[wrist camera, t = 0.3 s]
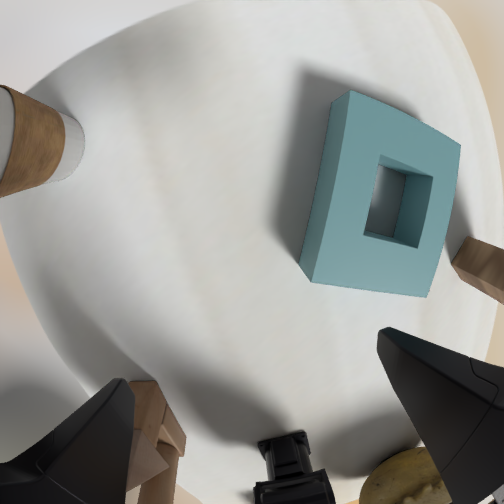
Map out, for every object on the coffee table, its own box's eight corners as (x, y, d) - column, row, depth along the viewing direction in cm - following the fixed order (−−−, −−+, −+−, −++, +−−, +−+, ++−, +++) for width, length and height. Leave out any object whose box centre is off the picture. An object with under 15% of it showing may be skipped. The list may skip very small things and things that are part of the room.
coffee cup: (73, 209, 20) (-61, 256, 5) (21, 173, 18) (-95, 190, 4) (113, 122, 18) (-21, 76, 4) (54, 94, 17) (-59, 60, 2)
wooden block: (156, 379, 25) (116, 530, 8) (187, 436, 28) (176, 555, 11) (127, 380, 25) (76, 517, 8) (161, 436, 28) (142, 550, 11)
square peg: (461, 279, 25) (518, 314, 15) (450, 263, 24) (513, 297, 14) (477, 253, 24) (535, 280, 14) (467, 236, 23) (531, 261, 14)
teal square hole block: (403, 282, 24) (426, 297, 20) (298, 264, 23) (311, 282, 19) (434, 146, 20) (460, 144, 16) (331, 102, 19) (350, 89, 15)
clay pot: (347, 455, 32) (382, 548, 13) (449, 408, 32) (499, 476, 13) (340, 492, 38) (360, 558, 19) (422, 458, 38) (453, 513, 19)
